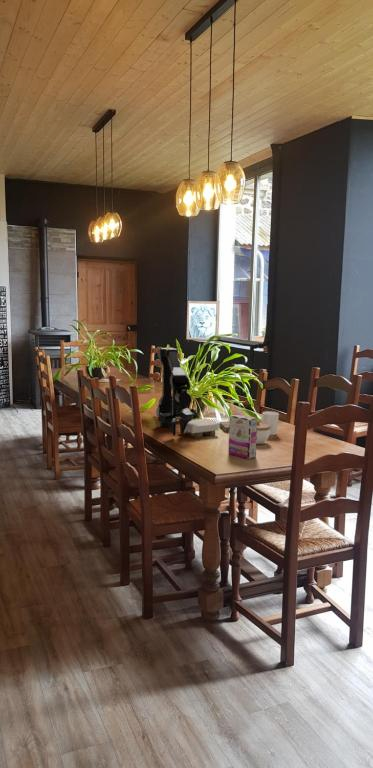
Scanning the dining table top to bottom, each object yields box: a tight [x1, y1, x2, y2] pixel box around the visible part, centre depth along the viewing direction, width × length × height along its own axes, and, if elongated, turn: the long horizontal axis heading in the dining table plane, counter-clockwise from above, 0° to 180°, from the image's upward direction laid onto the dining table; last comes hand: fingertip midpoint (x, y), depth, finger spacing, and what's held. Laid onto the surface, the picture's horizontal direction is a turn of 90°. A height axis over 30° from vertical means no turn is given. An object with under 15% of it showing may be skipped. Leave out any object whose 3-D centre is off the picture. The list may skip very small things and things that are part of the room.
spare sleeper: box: [218, 421, 229, 434], centre depth 279 cm, size 12×3×3 cm, turn 12°
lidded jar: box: [256, 420, 271, 445], centre depth 256 cm, size 11×11×9 cm
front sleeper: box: [185, 430, 203, 439], centre depth 267 cm, size 12×3×3 cm, turn 24°
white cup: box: [261, 410, 280, 436], centre depth 272 cm, size 8×8×10 cm
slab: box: [178, 418, 220, 433], centre depth 268 cm, size 12×14×3 cm
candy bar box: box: [227, 413, 258, 460], centre depth 234 cm, size 11×5×16 cm, turn 45°
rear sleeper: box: [202, 431, 216, 437], centre depth 271 cm, size 12×3×3 cm, turn 48°
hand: (178, 435), depth 262 cm, fingers open, 4 cm apart
